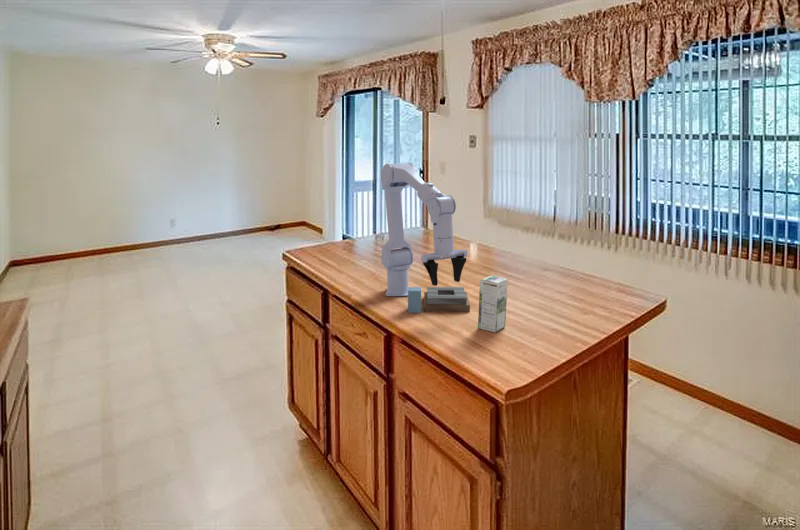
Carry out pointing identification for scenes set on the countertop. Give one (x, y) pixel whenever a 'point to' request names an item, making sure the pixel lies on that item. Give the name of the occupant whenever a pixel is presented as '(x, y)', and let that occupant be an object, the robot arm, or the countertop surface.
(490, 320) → the syrup box
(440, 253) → the robot arm
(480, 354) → the countertop surface
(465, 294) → the socket block
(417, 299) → the blue peg
